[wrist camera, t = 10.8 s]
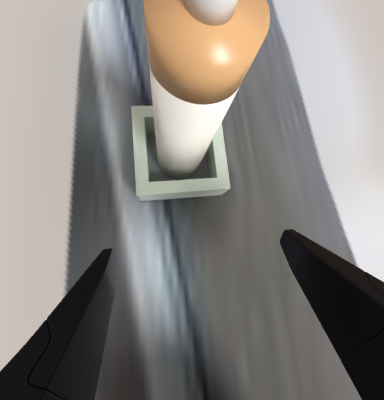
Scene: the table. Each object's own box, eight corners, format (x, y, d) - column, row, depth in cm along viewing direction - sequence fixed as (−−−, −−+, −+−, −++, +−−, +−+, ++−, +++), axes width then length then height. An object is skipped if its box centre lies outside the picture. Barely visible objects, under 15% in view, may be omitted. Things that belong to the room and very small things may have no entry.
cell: (201, 178, 19) (297, 36, 5) (159, 181, 18) (145, 27, 5) (196, 139, 19) (272, -77, 6) (156, 141, 19) (135, -99, 5)
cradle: (220, 195, 19) (230, 188, 16) (141, 201, 18) (136, 195, 15) (211, 123, 20) (219, 105, 17) (136, 125, 19) (131, 105, 16)
